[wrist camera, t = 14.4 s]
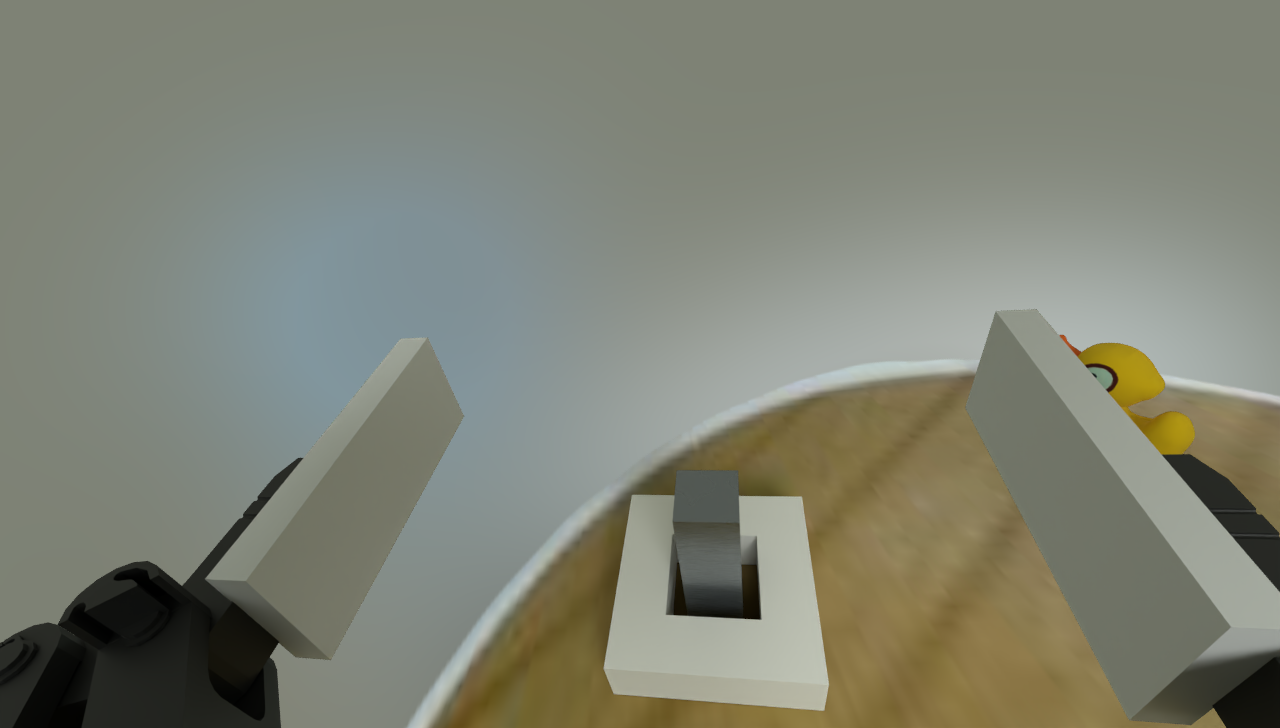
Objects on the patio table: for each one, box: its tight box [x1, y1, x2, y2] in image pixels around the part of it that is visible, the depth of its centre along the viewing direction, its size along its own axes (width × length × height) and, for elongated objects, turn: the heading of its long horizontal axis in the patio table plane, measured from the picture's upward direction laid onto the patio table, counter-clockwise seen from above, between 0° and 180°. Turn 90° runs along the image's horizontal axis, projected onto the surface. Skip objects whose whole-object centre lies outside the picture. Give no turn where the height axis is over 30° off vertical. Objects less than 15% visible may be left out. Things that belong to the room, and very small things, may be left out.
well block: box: [604, 495, 829, 711], centre depth 40 cm, size 14×14×4 cm
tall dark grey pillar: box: [672, 470, 743, 619], centre depth 37 cm, size 4×4×13 cm
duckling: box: [1059, 335, 1195, 454], centre depth 45 cm, size 11×5×10 cm, turn 27°
